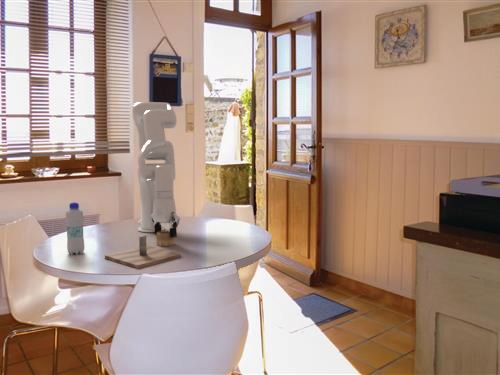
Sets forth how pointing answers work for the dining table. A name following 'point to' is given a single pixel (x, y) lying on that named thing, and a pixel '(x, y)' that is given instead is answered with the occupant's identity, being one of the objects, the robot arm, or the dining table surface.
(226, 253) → the dining table surface
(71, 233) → the bottle
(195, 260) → the dining table surface
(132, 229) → the dining table surface
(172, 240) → the collar
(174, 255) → the post board
